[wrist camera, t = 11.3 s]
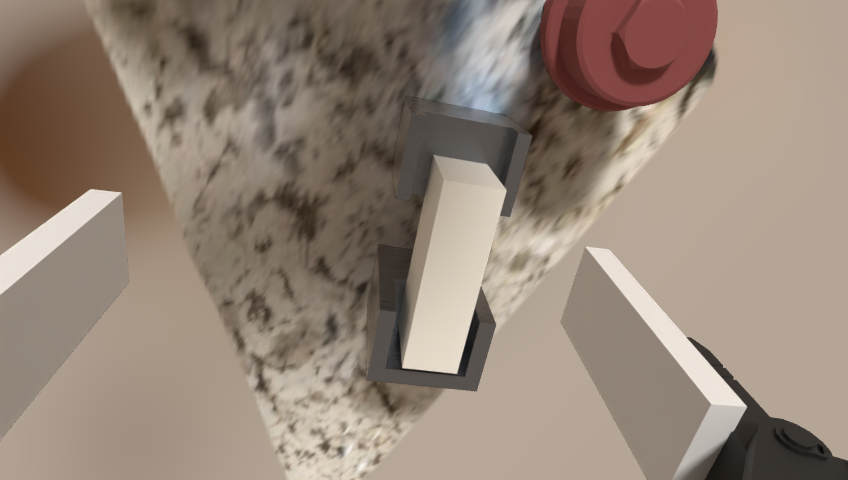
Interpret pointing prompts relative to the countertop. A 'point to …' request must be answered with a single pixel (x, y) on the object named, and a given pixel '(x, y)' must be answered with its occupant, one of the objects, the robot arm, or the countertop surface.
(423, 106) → the grey channel block
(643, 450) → the robot arm
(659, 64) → the mechanical component
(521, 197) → the countertop surface
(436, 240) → the cream rectangular block
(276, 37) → the countertop surface
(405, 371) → the cup bracket
